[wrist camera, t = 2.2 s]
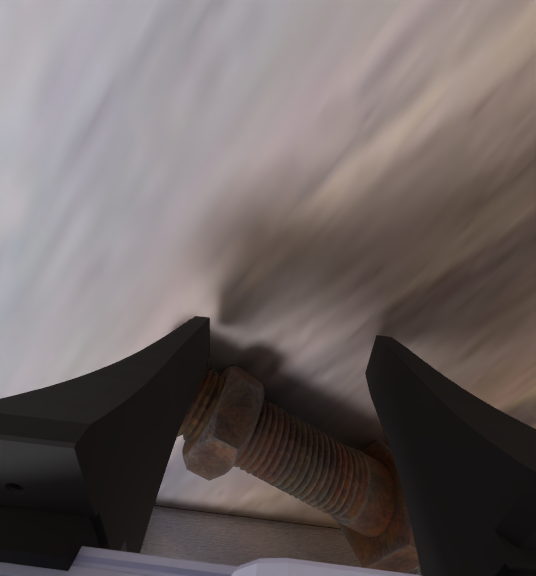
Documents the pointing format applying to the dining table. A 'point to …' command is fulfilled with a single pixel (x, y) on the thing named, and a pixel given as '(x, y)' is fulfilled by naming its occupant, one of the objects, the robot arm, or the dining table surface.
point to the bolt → (301, 465)
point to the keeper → (242, 539)
